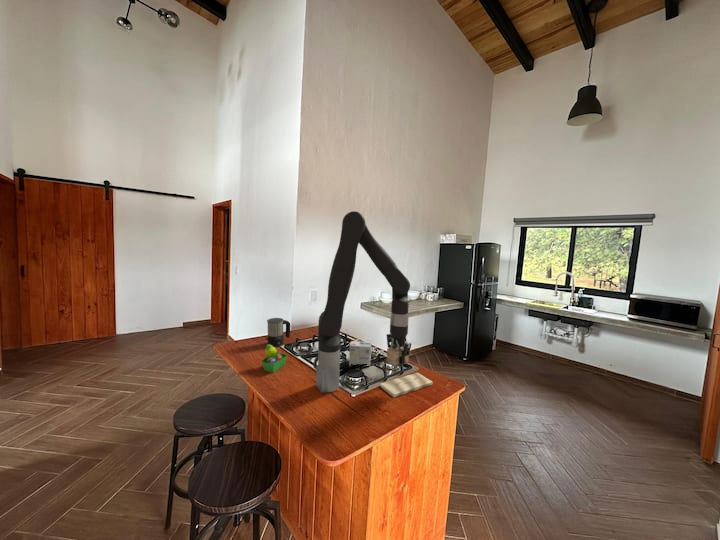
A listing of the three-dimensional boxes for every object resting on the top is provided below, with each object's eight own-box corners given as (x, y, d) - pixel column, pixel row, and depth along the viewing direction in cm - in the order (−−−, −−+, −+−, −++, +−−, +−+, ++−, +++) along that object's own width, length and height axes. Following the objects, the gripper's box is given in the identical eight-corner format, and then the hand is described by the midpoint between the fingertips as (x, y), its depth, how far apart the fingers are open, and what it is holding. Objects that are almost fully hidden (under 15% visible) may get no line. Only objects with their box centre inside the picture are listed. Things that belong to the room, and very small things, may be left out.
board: (393, 397, 118) (394, 394, 118) (379, 386, 126) (379, 383, 126) (432, 384, 130) (432, 381, 129) (417, 374, 138) (417, 372, 138)
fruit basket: (273, 374, 134) (273, 351, 132) (258, 370, 137) (258, 347, 135) (288, 364, 144) (288, 342, 143) (273, 361, 147) (273, 339, 146)
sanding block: (393, 366, 119) (394, 352, 119) (386, 362, 124) (387, 348, 123) (408, 362, 124) (409, 349, 123) (401, 358, 128) (401, 345, 127)
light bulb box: (370, 361, 151) (371, 341, 149) (369, 367, 144) (370, 346, 143) (350, 360, 152) (351, 340, 150) (348, 365, 145) (349, 345, 144)
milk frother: (274, 348, 163) (274, 323, 161) (255, 342, 171) (255, 318, 169) (292, 341, 175) (292, 317, 173) (274, 335, 183) (274, 313, 181)
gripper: (381, 319, 125) (380, 357, 128) (403, 329, 113) (401, 370, 115) (395, 317, 129) (393, 353, 131) (417, 326, 117) (415, 366, 119)
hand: (397, 361), depth 123 cm, fingers closed on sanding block, 5 cm apart
